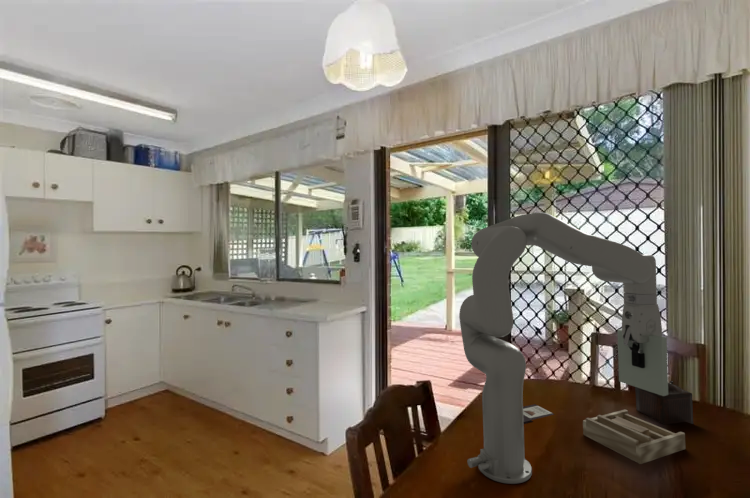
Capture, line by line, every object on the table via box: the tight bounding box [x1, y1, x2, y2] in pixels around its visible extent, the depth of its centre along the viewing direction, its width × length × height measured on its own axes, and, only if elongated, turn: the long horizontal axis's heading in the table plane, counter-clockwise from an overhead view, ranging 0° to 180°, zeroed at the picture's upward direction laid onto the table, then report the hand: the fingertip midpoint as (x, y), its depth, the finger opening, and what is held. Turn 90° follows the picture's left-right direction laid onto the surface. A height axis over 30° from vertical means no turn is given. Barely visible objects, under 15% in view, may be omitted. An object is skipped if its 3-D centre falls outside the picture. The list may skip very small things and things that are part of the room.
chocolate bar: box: [523, 403, 555, 425], centre depth 122 cm, size 9×1×18 cm
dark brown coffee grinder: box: [634, 380, 695, 425], centre depth 120 cm, size 16×11×18 cm
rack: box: [582, 409, 686, 465], centre depth 102 cm, size 17×16×6 cm
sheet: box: [617, 328, 669, 396], centre depth 104 cm, size 2×12×15 cm, turn 21°
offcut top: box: [612, 417, 649, 436], centre depth 103 cm, size 3×8×2 cm, turn 25°
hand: (641, 365), depth 104 cm, fingers closed on sheet, 2 cm apart
